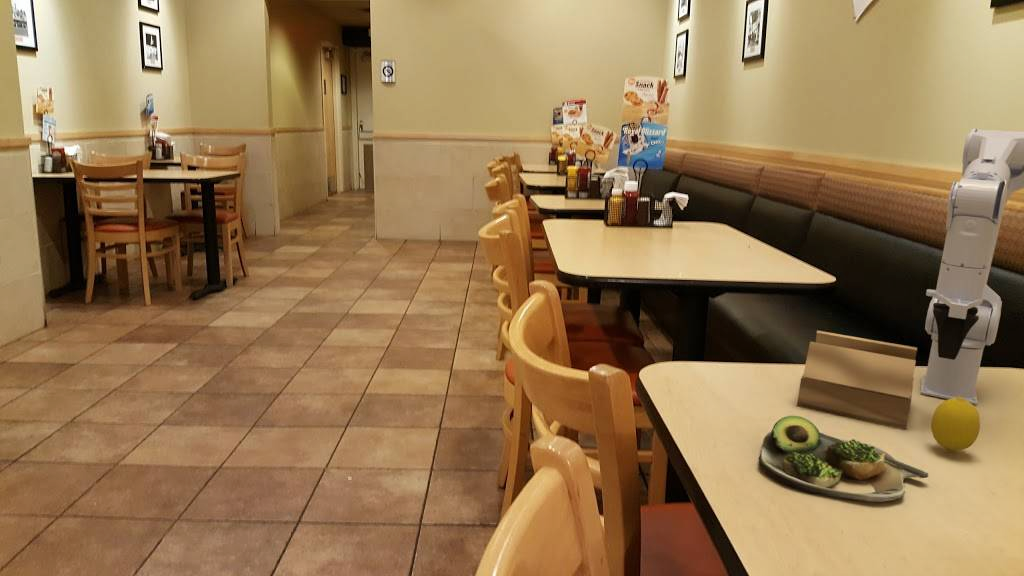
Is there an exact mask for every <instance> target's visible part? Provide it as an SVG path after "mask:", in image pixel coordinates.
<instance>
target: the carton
mask: <svg viewBox="0 0 1024 576" xmlns="http://www.w3.org/2000/svg"><path fill="white" fill-rule="evenodd" d="M913 387H914V376H913V380H912V386H911V392H910V397H909V398H904V397H899V396H894V395H889V394H884V393H879V392H874V391H869V390H864V389H859V388H854V387H849V386H844V385H839V384H834V383H829V382H825V381H820V380H815V379H810V378H805V377H803V375H801V378H800V383H799V389H798V394H797V395H798V397H797V404H796V406H797V407H802V408H805V409H809V410H814V411H819V412H822V413H823V412H824V413H828V414H833V415H837V416H841V417H846V418H851V419H855V420H859V421H865V422H869V423H872V424H878V425H882V426H886V427H892V428H895V429H900V430H905V431H906V430H907V426H908V421H909V420H908V419H909V414H910V411H911V405H912V404H911V403H912V396H913Z"/></svg>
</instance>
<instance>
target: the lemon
mask: <svg viewBox="0 0 1024 576" xmlns="http://www.w3.org/2000/svg"><path fill="white" fill-rule="evenodd" d="M930 425H931V427H930V428H931V434H932V436H933V438H934V440H935V441H936V443H938V444H939V445H940V446H941V447H943V448H944V449H945V450H946V452H947V453H950V454H954V453H955V452H958V451H964V450H966V449H969V448H970V447H971V446H972V445H973V444H974V443H975V442H976V441H977V440H978V437H979V434H980V430H981V420H980V414H979V412H978V409H976V407H975V406H974V404H971V403H969V402H968V401H966V400H965V399H964V398H963V397H957V398H953V399H946V400H944V401H943V402H941V403H940V404H939V405H938V406H937V408H936V409H935V411H934V413H933V416H932V418H931V424H930Z"/></svg>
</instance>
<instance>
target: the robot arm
mask: <svg viewBox="0 0 1024 576" xmlns="http://www.w3.org/2000/svg"><path fill="white" fill-rule="evenodd" d="M962 153H963V154H962V168H961V169H962V172H961V173H962V174H961V176H962V177H961V178H960V180H959V181H957V182H956V181H955V180H954V181H953V183H952V184H951V188H950V191H949V195H948V199H947V206H946V208H947V213H946V214H947V215H946V216H947V218H946V223H945V224H946V225H945V230H946V231H947V232H946V236H945V240H944V246H943V252H942V257H941V260H940V261H941V263H940V266H939V272H938V277H937V284H936V288H935V289H931V288H929V289H926V293H925V296H927V297H932V298H931V300H930V302H929V306H928V308H927V309H928V310H927V313H926V314H927V315H926V318H925V326H924V329H925V331H926V332H927V334H928V335H931V338H930V339H931V340H932V342H931V347H930V352H929V357H928V363H927V368H926V374H925V375H922V376H921V384H920V386H921V387H920V393H921V394H922V395H926V396H931V397H936V398H941V399H946V400H948V399H953V398H957V397H963V398H964V399H965V400H966V401H968V402H969V403H971V404H972V405H978V403H979V402H978V395H977V387H976V385H977V381H978V377H979V373H980V366H981V363H982V362H981V361H982V357H983V353H984V349H985V346H991V345H992V344H994V343H995V341H996V339H997V338H996V337H997V333H998V328H999V323H1000V319H1001V313H1002V305H1003V304H1002V303H1003V301H1002V300H1001V297H1000V296H999V295H998V293H996V292H995V291H994V290H993V289H992V288H991V287H990V286H989V285H988V284H987V283H988V279H989V275H990V270H991V265H992V263H993V257H994V254H995V249H996V245H997V240H998V236H999V232H1000V227H1001V224H1002V218H1003V215H1004V211H1005V207H1006V205H1007V203H1008V201H1009V199H1010V198H1011V196H1012V194H1013V193H1014V192H1018V191H1019V190H1023V189H1024V131H1016V130H1015V131H1014V130H996V129H995V130H993V129H977V128H972V129H970V130H969V131H968V132H967V134H966V137H965V142H964V147H963V152H962Z"/></svg>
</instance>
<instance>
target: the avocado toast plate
mask: <svg viewBox="0 0 1024 576" xmlns="http://www.w3.org/2000/svg"><path fill="white" fill-rule="evenodd" d="M760 451H761V452H760V454H759V457H758V464H759V466H760V468H762V470H763V471H764V473H765V474H767V476H769V477H770V478H772V479H773V480H775V481H776V482H778V483H780V484H782V485H784V486H788V487H790V488H794V489H797V490H800V491H803V492H807V493H813V494H818V495H823V496H828V497H834V498H837V499H844V500H845V499H846V500H853V501H860V502H869V503H884V502H889V501H893V500H897V499H901V498H902V497H904V496H905V493H906V491H905V484H904V480H905V479H907V478H919V479H926V478H928V477H929V473H928V472H926V471H924V470H922V469H919V468H916V467H914V466H912V465H909V464H906V463H904V462H902V461H898V460H896V458H895V457H893V455H891V454H890V453H888V452H886V451H885V450H883V449H881V448H880V447H877V446H874V445H872V444H869V443H865V442H864V443H863V442H861V441H859V440H857V439H855V438H853V439H851V440H848V439H844V438H843V439H842V438H838V437H834V436H830V435H827V434H825V433H823V432H820V430H819V429H818V428H817V426H816V425H815V424H814V423H813V422H812V421H810V420H809V419H807V418H805V417H802V416H799V415H788V416H784V417H781V418H780V419H778V420H777V421H776V422H775V423H774V425H773V426H772V429H771V431H769V432H768V433H767V434H766V435H765V436H764V437H763V441H762V446H761V450H760ZM842 481H843V482H851V481H852V482H853V481H854V482H857V483H862V484H863V483H864V484H865V483H867V484H869V485H871V487H872V488H873V490H874V491H873V492H869V493H868V492H867V493H863V492H862V493H856V492H849V491H843V490H838V489H833V488H832V487H833V486H835V485H836V484H837V483H840V482H842Z"/></svg>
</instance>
